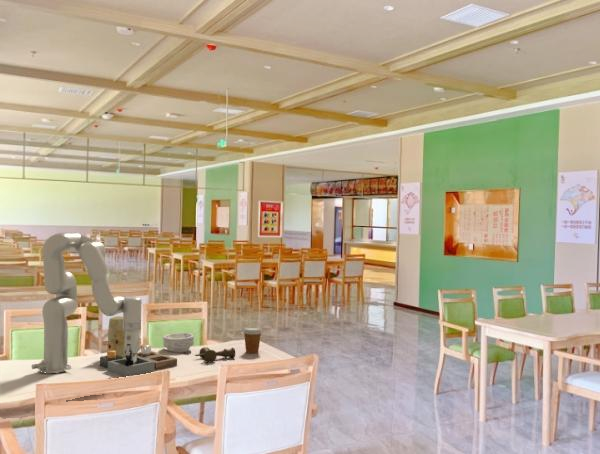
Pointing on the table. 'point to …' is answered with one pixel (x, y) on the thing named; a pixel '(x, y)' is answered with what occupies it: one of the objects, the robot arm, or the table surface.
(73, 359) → the table surface
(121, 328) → the food model
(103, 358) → the button housing
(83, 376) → the table surface
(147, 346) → the cylinder
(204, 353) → the kendama
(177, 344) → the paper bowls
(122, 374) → the tray
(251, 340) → the disposable coffee cup
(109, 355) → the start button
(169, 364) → the brown compartment tray
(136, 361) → the cylinder
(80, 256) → the robot arm
